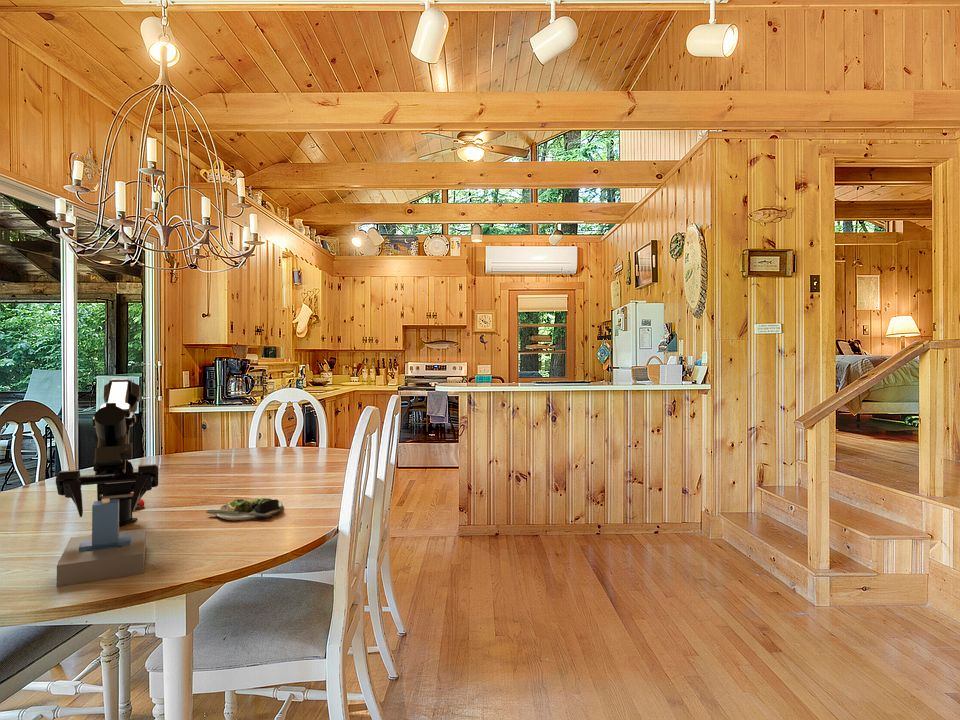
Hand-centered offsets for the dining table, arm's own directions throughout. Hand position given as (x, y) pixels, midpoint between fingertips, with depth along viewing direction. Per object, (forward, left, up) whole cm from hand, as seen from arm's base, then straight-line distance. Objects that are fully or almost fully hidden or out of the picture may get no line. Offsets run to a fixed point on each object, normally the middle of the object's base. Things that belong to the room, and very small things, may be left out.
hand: (107, 513), depth 119 cm
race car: (-38, -28, -10) cm, 48 cm away
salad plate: (-39, +10, -11) cm, 41 cm away
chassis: (+2, +2, -10) cm, 10 cm away
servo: (+2, +2, -10) cm, 10 cm away
